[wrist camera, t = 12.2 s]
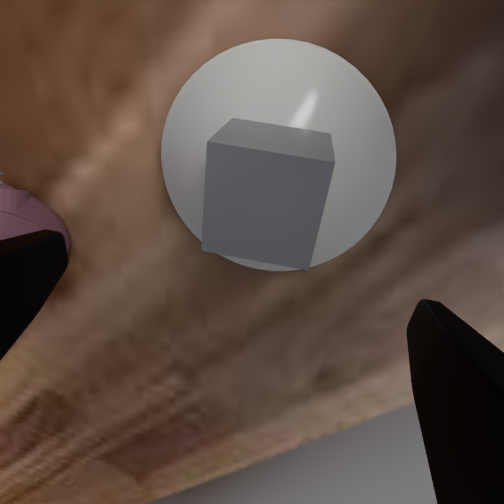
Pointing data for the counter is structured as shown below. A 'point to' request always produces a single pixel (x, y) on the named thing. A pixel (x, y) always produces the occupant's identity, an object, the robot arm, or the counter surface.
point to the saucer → (292, 115)
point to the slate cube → (266, 192)
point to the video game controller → (26, 214)
